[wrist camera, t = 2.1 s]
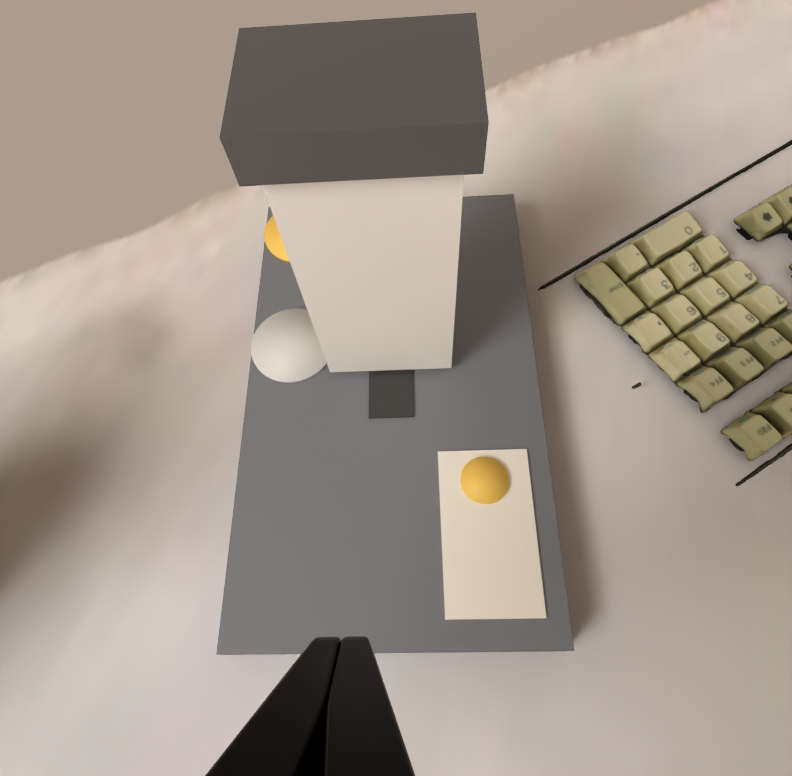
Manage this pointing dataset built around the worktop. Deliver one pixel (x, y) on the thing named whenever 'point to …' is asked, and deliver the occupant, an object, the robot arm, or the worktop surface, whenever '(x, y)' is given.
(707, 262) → the keyboard
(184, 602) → the worktop surface
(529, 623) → the switch panel
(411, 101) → the lever
